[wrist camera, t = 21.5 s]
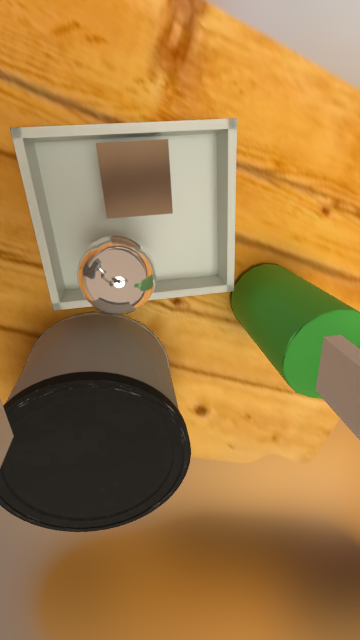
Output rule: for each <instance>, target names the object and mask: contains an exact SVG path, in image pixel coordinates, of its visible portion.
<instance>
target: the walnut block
mask: <svg viewBox="0 0 360 640" xmlns="http://www.w3.org/2000/svg"><path fill="white" fill-rule="evenodd" d="M96 148H97V155H98V162H99V169H100V175H101V182H102V189H103V196H104V203H105V209H106V216H107V219H109V218H122V217H134V216H147V215H160V214H172V213H173V208H172V192H171V177H170V161H169V145H168V139H161V140H141V141H122V142H103V143H96Z"/></svg>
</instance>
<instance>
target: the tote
mask: <svg viewBox="0 0 360 640" xmlns="http://www.w3.org/2000/svg"><path fill="white" fill-rule="evenodd" d="M10 130H11V135H12V139H13V143H14V147H15V151H16V156H17V160H18V164H19V168H20V172H21V176H22V181H23V185H24V189H25V193H26V197H27V202H28V206H29V210H30V214H31V218H32V222H33V227H34V231H35V235H36V239H37V243H38V248H39V252H40V256H41V260H42V264H43V268H44V273H45V277H46V281H47V285H48V289H49V294H50V298H51V302H52V306H53V310H54V311H55V310H64V309H73V308H82V307H92V305H91V304H90V303H89V302H88V301H87V299H86V298H85V297H84V295H83V294H82V292H81V290H80V287H79V284H78V280H77V268H78V264H79V260H80V258H81V256H82V254H83V252H84V251H85V250H86V248H87V247H89V246H90V245H91V244H92V243H93V242H95V241H97V240H98V239H100V238H103V237H106V236H112V235H119V236H126V237H129V238H132V239H134V240H136V241H138V242H139V243H140V244H141V245H143V246H144V247H145V248H146V250H147V251H148V252H149V253H150V255H151V256H152V258H153V260H154V263H155V266H156V273H157V278H156V285H155V289H154V291H153V293H152V295H151V297H150V298H149V299H148V300H156V299H166V298H175V297H184V296H193V295H203V294H212V293H221V292H230V291H234V263H235V204H236V145H237V118H232V119H208V120H184V121H160V122H136V123H112V124H88V125H64V126H40V127H16V128H10ZM161 139H168V145H169V161H170V177H171V192H172V208H173V213H172V214H160V215H147V216H134V217H122V218H109V219H107V216H106V209H105V203H104V196H103V189H102V182H101V175H100V169H99V162H98V155H97V148H96V143H103V142H122V141H141V140H161Z"/></svg>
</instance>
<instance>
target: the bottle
mask: <svg viewBox="0 0 360 640" xmlns="http://www.w3.org/2000/svg"><path fill="white" fill-rule="evenodd" d="M231 307H232V310H233V312H234V315H235V317H236V318H237V319H238V321H239V322H240V323H241V325H242V326H243V327H244V329H245V330H246V331H247V333H248V334H249V335H250V336H251V338H252V339H253V340H254V342H255V343H256V344H257V345H258V347H259V348H260V349H261V351H262V352H263V353H264V354H265V356H266V357H267V358H268V359H269V361H270V362H271V363H272V364H273V366H274V367H275V368H276V370H277V371H278V372H279V373H280V375H281V376H282V377H283V378H284V380H285V381H286V382H287V384H288V385H289V386H290V387H291V388H292V389H293V390H294V391H295V392H297V393H300V394H302V395H305V396H308V397H312V398H321V399H323V398H322V397H321V396H320V395H319V394H318V392H317V391H316V384H317V378H318V371H319V365H320V358H321V351H322V345H323V338H324V337H326V336H334V335H342V336H343V337H344V338H346V339H347V340H348V341H350V342H351V343H353V344H354V345H355V346H357V347H358V348H359V349H360V312H359V311H357V310H355V309H354V308H352V307H350V306H349V305H347V304H345V303H343V302H342V301H340V300H338V299H337V298H335V297H333V296H332V295H330V294H328V293H327V292H325V291H323V290H321V289H320V288H318V287H316V286H315V285H313V284H311V283H309V282H308V281H306V280H304V279H303V278H301V277H299V276H297V275H296V274H294V273H292V272H291V271H289V270H287V269H285V268H283V267H281V266H279V265H276V264H263V265H260V266H256V267H254V268H252V269H251V270H249V271H248V272H246V273H245V274H243V276H242V277H241V278H240V279H239V281H238V282H237V283H236V285H235V287H234V291H233V293H232V296H231Z"/></svg>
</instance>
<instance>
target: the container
mask: <svg viewBox="0 0 360 640" xmlns="http://www.w3.org/2000/svg"><path fill="white" fill-rule="evenodd" d="M3 408H4V410H5V413H6V416H7V419H8V421H9V424H10V427H11V430H12V433H13V435H14V436H13V439H12V441H11V444H10V446H9V448H8V451H7V453H6V456H5V458H4V460H3V463H2V465H1V468H0V505H1V506H2V507H3V508H4V509H6V510H7V511H8V512H10V513H11V514H13V515H15V516H16V517H18V518H20V519H22V520H24V521H27V522H29V523H31V524H34V525H37V526H40V527H44V528H48V529H53V530H59V531H71V532H87V531H97V530H105V529H109V528H114V527H118V526H121V525H124V524H127V523H130V522H133V521H135V520H137V519H139V518H141V517H143V516H145V515H147V514H149V513H151V512H152V511H154V510H155V509H157V508H158V507H159V506H161V505H162V504H163V503H164V502H166V501H167V500H168V499H169V498H170V497H171V496H172V495H173V494H174V492H175V491H176V490H177V489H178V487H179V486H180V484H181V483H182V481H183V479H184V477H185V475H186V473H187V470H188V466H189V463H190V456H191V447H190V440H189V436H188V432H187V428H186V424H185V422H184V419H183V417H182V415H181V414H180V412H179V409H178V405H177V401H176V396H175V392H174V388H173V383H172V379H171V375H170V367H169V360H168V357H167V354H166V351H165V349H164V347H163V345H162V343H161V342H160V341H159V339H158V338H157V337H156V336H155V335H154V333H153V332H151V331H150V330H149V329H148V328H147V327H145V326H144V325H143V324H141V323H139V322H137V321H136V320H133V319H131V318H129V317H126V316H123V315H119V314H110V313H105V312H89V313H82V314H77V315H74V316H71V317H68V318H66V319H63V320H61V321H59V322H58V323H56V324H54V325H53V326H51V327H50V328H49V329H47V330H46V331H45V332H44V333H43V334H42V335H41V336H40V337H39V339H38V340H37V341H36V343H35V344H34V346H33V348H32V350H31V352H30V354H29V357H28V361H27V363H26V365H25V367H24V369H23V371H22V373H21V375H20V377H19V379H18V381H17V382H16V384H15V386H14V388H13V390H12V392H11V394H10V396H9V398H8V400H7V402H6V403H5V405H4V406H3Z"/></svg>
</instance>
